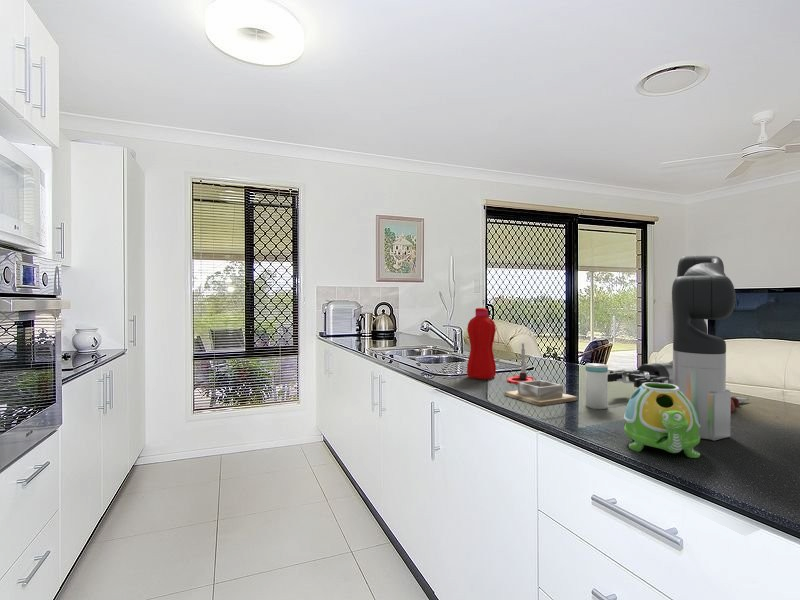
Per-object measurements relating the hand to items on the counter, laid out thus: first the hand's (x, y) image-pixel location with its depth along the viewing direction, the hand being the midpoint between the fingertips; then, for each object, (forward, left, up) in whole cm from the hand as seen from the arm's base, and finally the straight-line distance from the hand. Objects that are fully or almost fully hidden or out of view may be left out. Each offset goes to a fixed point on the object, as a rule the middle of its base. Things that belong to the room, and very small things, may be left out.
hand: (620, 380), depth 117 cm
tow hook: (+35, +4, -6) cm, 36 cm away
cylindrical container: (0, +10, -6) cm, 11 cm away
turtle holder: (-28, +27, -6) cm, 39 cm away
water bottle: (+46, +11, -6) cm, 48 cm away
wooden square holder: (+14, +16, -6) cm, 22 cm away
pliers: (-15, -21, -7) cm, 27 cm away
